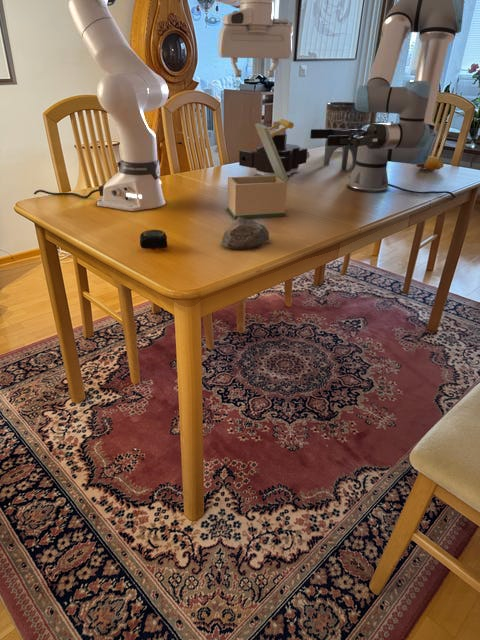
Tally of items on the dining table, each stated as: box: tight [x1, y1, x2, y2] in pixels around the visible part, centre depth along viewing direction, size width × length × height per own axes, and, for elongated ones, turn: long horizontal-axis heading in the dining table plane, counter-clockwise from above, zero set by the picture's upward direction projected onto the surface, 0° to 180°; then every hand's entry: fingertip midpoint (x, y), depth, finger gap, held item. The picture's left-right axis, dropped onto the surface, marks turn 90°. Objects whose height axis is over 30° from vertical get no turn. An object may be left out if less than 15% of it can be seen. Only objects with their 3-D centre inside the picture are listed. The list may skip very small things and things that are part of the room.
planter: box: [323, 101, 372, 172], centre depth 204 cm, size 20×20×26 cm
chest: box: [227, 175, 288, 220], centre depth 144 cm, size 16×10×10 cm, turn 104°
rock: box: [221, 217, 270, 250], centre depth 119 cm, size 13×9×6 cm, turn 131°
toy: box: [416, 155, 445, 172], centre depth 208 cm, size 11×6×15 cm
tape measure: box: [139, 229, 168, 250], centre depth 117 cm, size 7×7×4 cm
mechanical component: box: [238, 120, 311, 176], centre depth 191 cm, size 22×21×30 cm
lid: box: [254, 118, 295, 182], centre depth 138 cm, size 17×10×9 cm
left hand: (254, 77), depth 127 cm, fingers open, 8 cm apart
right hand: (318, 137), depth 139 cm, fingers open, 13 cm apart
